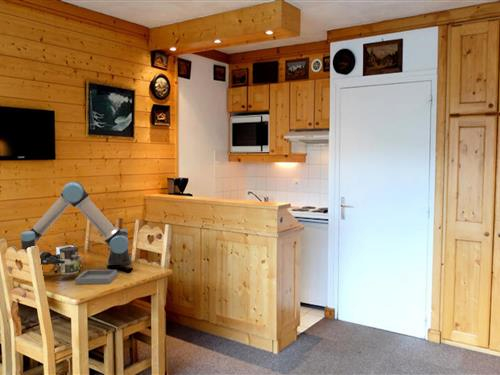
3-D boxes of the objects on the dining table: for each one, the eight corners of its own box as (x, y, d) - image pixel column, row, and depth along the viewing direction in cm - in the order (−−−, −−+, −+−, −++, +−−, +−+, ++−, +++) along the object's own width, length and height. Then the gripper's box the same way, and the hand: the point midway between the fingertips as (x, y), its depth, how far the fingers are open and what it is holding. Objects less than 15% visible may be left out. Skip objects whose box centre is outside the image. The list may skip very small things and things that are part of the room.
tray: (86, 275, 274) (86, 270, 274) (117, 275, 274) (117, 269, 274) (75, 284, 256) (75, 278, 255) (108, 284, 256) (108, 278, 256)
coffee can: (82, 270, 272) (81, 247, 271) (72, 274, 262) (71, 250, 261) (67, 269, 274) (66, 246, 273) (56, 274, 264) (55, 250, 263)
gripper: (55, 259, 283) (87, 261, 278) (30, 269, 261) (63, 271, 256) (55, 248, 283) (86, 249, 277) (29, 256, 261) (63, 258, 255)
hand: (75, 259), depth 267 cm, fingers closed on coffee can, 10 cm apart
